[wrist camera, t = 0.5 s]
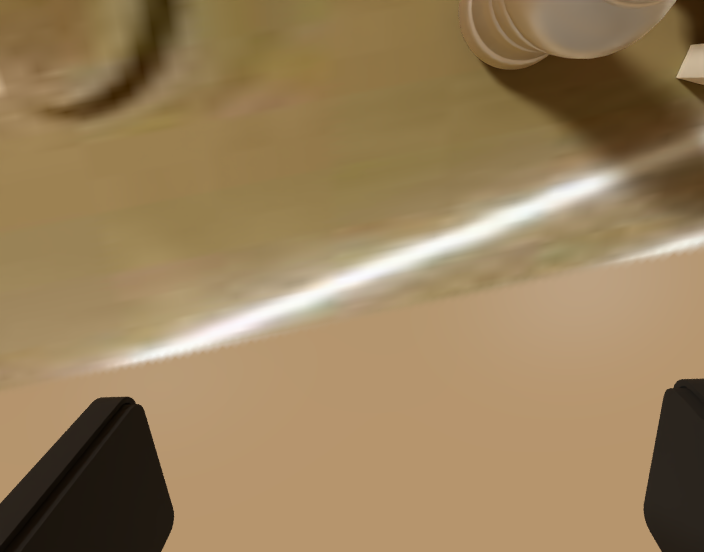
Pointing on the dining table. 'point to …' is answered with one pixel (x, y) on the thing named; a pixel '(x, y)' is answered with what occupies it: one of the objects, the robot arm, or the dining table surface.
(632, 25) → the plastic bottle
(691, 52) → the keyhole plate
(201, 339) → the dining table surface
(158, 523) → the robot arm
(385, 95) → the dining table surface
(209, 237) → the dining table surface
